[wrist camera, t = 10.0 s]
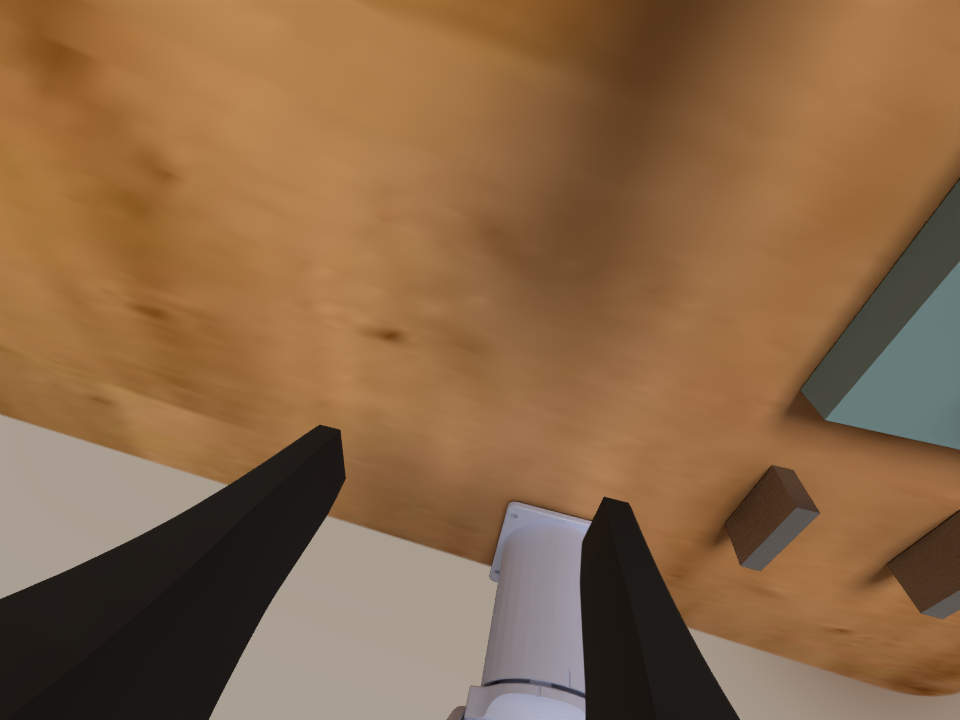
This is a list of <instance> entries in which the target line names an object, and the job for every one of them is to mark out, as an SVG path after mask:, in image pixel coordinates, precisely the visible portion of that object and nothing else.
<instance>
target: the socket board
mask: <svg viewBox="0 0 960 720" xmlns="http://www.w3.org/2000/svg"><path fill="white" fill-rule="evenodd" d="M800 391H801V392H802V393H803V394H804V396H805V397H806V398H807V399H808V400H809V402H810V403H811V404H812V405H813V406H814V408H815V409H816V410H817V411H818V413H819V414H820V415H821V416H822V417H823V419H824V420H827V421H831V422H836V423H841V424H845V425H850V426H854V427H859V428H863V429H868V430H872V431H877V432H882V433H886V434H891V435H895V436H900V437H904V438H909V439H914V440H918V441H923V442H927V443H932V444H936V445H941V446H946V447H950V448H955V449H959V450H960V180H959V181H958V182H957V184H956V185H955V186H954V188H953V189H952V190H951V192H950V193H949V194H948V196H947V197H946V198H945V200H944V201H943V202H942V203H941V205H940V206H939V207H938V209H937V210H936V211H935V213H934V214H933V215H932V217H931V218H930V219H929V221H928V222H927V223H926V225H925V226H924V227H923V229H922V230H921V231H920V233H919V234H918V235H917V237H916V238H915V239H914V240H913V242H912V243H911V244H910V246H909V247H908V248H907V250H906V251H905V252H904V254H903V255H902V256H901V258H900V259H899V260H898V262H897V263H896V264H895V266H894V267H893V268H892V270H891V271H890V272H889V274H888V275H887V276H886V277H885V279H884V280H883V281H882V283H881V284H880V285H879V287H878V288H877V289H876V291H875V292H874V293H873V295H872V296H871V297H870V299H869V300H868V301H867V303H866V304H865V305H864V307H863V308H862V309H861V311H860V312H859V313H858V314H857V316H856V317H855V318H854V320H853V321H852V322H851V324H850V325H849V326H848V328H847V329H846V330H845V332H844V333H843V334H842V336H841V337H840V338H839V340H838V341H837V342H836V344H835V345H834V346H833V348H832V349H831V350H830V351H829V353H828V354H827V355H826V357H825V358H824V359H823V361H822V362H821V363H820V365H819V366H818V367H817V369H816V370H815V371H814V373H813V374H812V375H811V377H810V378H809V379H808V381H807V382H806V383H805V385H804V386H803V387H802V388H801V390H800Z"/></svg>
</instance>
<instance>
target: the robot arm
mask: <svg viewBox="0 0 960 720" xmlns="http://www.w3.org/2000/svg"><path fill="white" fill-rule="evenodd" d="M345 479H346V477H345V468H344V458H343V449H342V440H341V431H340V430H339V429H335V428H331V427H327V426H323V425H319V426H317V427H315V428H314V429H312V430H311V431H309V432H308V433H306V434H305V435H304V436H302V437H301V438H299V439H298V440H296V441H295V442H293V443H292V444H290V445H289V446H287V447H286V448H285V449H283V450H282V451H280V452H279V453H277V454H276V455H274V456H273V457H271V458H270V459H268V460H267V461H265V462H264V463H262V464H261V465H259V466H258V467H256V468H255V469H253V470H252V471H250V472H248V473H247V474H245V475H244V476H242V477H241V478H239V479H238V480H236V481H235V482H233V483H231V484H230V485H228V486H227V487H225V488H223V489H222V490H220V491H218V492H217V493H215V494H213V495H212V496H210V497H208V498H207V499H205V500H203V501H202V502H200V503H198V504H197V505H195V506H193V507H192V508H190V509H188V510H186V511H185V512H183V513H181V514H179V515H178V516H176V517H174V518H172V519H170V520H168V521H167V522H165V523H163V524H161V525H159V526H157V527H155V528H153V529H152V530H150V531H148V532H146V533H144V534H142V535H140V536H138V537H137V538H134V539H132V540H130V541H128V542H126V543H124V544H122V545H120V546H118V547H116V548H114V549H112V550H110V551H108V552H105V553H103V554H101V555H99V556H97V557H95V558H93V559H91V560H89V561H86V562H84V563H82V564H80V565H78V566H76V567H74V568H72V569H70V570H67V571H65V572H63V573H60V574H58V575H56V576H54V577H51V578H49V579H46V580H44V581H42V582H39V583H37V584H35V585H33V586H30V587H28V588H26V589H23V590H21V591H19V592H16V593H14V594H12V595H9V596H7V597H4V598H2V599H0V720H209V718H210V716H211V714H212V712H213V710H214V708H215V706H216V704H217V702H218V700H219V698H220V696H221V694H222V692H223V690H224V688H225V686H226V684H227V682H228V680H229V678H230V676H231V674H232V672H233V671H234V669H235V667H236V665H237V663H238V661H239V659H240V657H241V655H242V653H243V651H244V649H245V648H246V646H247V644H248V642H249V640H250V638H251V637H252V634H253V633H254V631H255V629H256V627H257V626H258V624H259V622H260V620H261V618H262V616H263V614H264V613H265V611H266V609H267V608H268V606H269V604H270V603H271V601H272V599H273V598H274V596H275V594H276V593H277V591H278V590H279V588H280V587H281V585H282V584H283V582H284V580H285V579H286V577H287V576H288V574H289V573H290V571H291V570H292V568H293V567H294V565H295V564H296V562H297V561H298V559H299V558H300V556H301V555H302V553H303V552H304V550H305V549H306V547H307V546H308V544H309V543H310V541H311V539H312V538H313V536H314V535H315V533H316V532H317V530H318V529H319V527H320V526H321V524H322V522H323V521H324V519H325V518H326V516H327V515H328V513H329V511H330V509H331V507H332V505H333V503H334V501H335V500H336V498H337V496H338V493H339V491H340V489H341V487H342V485H343V483H344V481H345ZM489 577H490V579H491V580H492V581H495V582H498V586H497V593H496V598H495V604H494V610H493V616H492V622H491V628H490V634H489V640H488V646H487V653H486V658H485V665H484V671H483V677H482V683H481V686H470V689H469V694H468V699H467V705H466V706H459V707H457V708H456V709H454V710H453V712H452V713H451V714H450V715H449V717H448V719H447V720H740V719H739V717H738V716H737V714H736V712H735V710H734V709H733V707H732V705H731V704H730V702H729V701H728V699H727V697H726V696H725V694H724V692H723V691H722V689H721V687H720V686H719V684H718V682H717V680H716V679H715V677H714V675H713V674H712V672H711V670H710V668H709V666H708V665H707V663H706V661H705V659H704V658H703V656H702V654H701V652H700V650H699V649H698V647H697V645H696V643H695V641H694V639H693V637H692V636H691V634H690V632H689V630H688V628H687V626H686V624H685V622H684V620H683V619H682V617H681V615H680V613H679V611H678V609H677V607H676V605H675V603H674V601H673V599H672V597H671V595H670V593H669V591H668V589H667V587H666V585H665V582H664V580H663V578H662V576H661V574H660V572H659V570H658V568H657V566H656V564H655V561H654V559H653V557H652V555H651V552H650V550H649V548H648V546H647V544H646V541H645V539H644V537H643V534H642V532H641V530H640V527H639V525H638V523H637V520H636V518H635V516H634V513H633V511H632V508H631V506H630V505H629V503H627V502H623V501H619V500H615V499H611V498H607V497H604V498H603V500H602V502H601V504H600V506H599V508H598V510H597V512H596V514H595V516H594V518H593V520H592V521H588V520H585V519H581V518H577V517H573V516H569V515H565V514H562V513H558V512H554V511H550V510H546V509H542V508H539V507H535V506H531V505H527V504H523V503H519V502H511V503H509V504H508V507H507V511H506V515H505V519H504V522H503V526H502V530H501V533H500V537H499V541H498V545H497V548H496V552H495V556H494V559H493V563H492V567H491V571H490V575H489Z"/></svg>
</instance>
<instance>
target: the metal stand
mask: <svg viewBox="0 0 960 720" xmlns="http://www.w3.org/2000/svg"><path fill="white" fill-rule="evenodd" d="M819 514H820V512H819V510H818V509H817V507H816V506H815V504H814V502H813V501H812V499H811V498H810V496H809V494H808V493H807V491H806V490H805V488H804V486H803V485H802V483H801V482H800V480H799V478H798V477H797V475H796V474H795V472H794V470H790V469H785V468H781V467H777V466H772V467H771V468H770V469H769V470H768V472H767V473H766V474H765V475H764V477H763V478H762V479H761V480H760V481H759V483H758V484H757V485H756V486H755V488H754V489H753V490H752V491H751V492H750V494H749V495H748V496H747V497H746V498H745V500H744V501H743V502H742V503H741V505H740V506H739V507H738V508H737V509H736V511H735V512H734V513H733V514H732V516H731V517H730V518H729V519H728V520H727V522H726V523H725V526H726V528H727V531H728V534H729V536H730V539H731V542H732V545H733V547H734V550H735V553H736V555H737V558H738V561H739V563H740V566H743V567H746V568H750V569H754V570H758V571H761V570H762V569H763V568H764V567H765V566H766V565H767V564H768V563H770V562H771V561H772V560H773V559H774V558H775V557H776V556H777V555H778V554H779V553H780V552H781V551H782V550H783V549H784V548H785V547H786V546H787V545H788V544H789V543H790V542H791V541H792V540H793V539H794V538H795V537H796V536H797V535H798V534H799V533H800V532H801V531H803V530H804V529H805V528H806V527H807V526H808V525H809V524H810V523H811V522H812V521H813V520H814V519H815V518H816V517H817V516H818V515H819ZM887 566H888V567H889V569H890V570H891V572H892V573H893V574H894V576H895V577H896V579H897V580H898V582H899V583H900V584H901V586H902V587H903V589H904V590H905V592H906V593H907V594H908V596H909V597H910V599H911V600H912V602H913V603H914V604H915V606H916V607H917V609H918V610H919V612H920V613H921V614H925V615H929V616H933V617H937V618H940V619H944V618H946V617H948V616H949V615H951V614H953V613H955V612H956V611H958V610H960V511H959V512H958V513H956V514H955V515H954V516H952V517H951V518H949V519H948V520H947V521H945V522H944V523H943V524H941V525H940V526H939V527H937V528H936V529H934V530H933V531H932V532H930V533H929V534H928V535H926V536H925V537H924V538H922V539H921V540H919V541H918V542H917V543H915V544H914V545H913V546H911V547H910V548H909V549H907V550H906V551H905V552H903V553H902V554H900V555H899V556H898V557H896V558H895V559H894V560H892V561H891V562H890V563H888V564H887Z"/></svg>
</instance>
